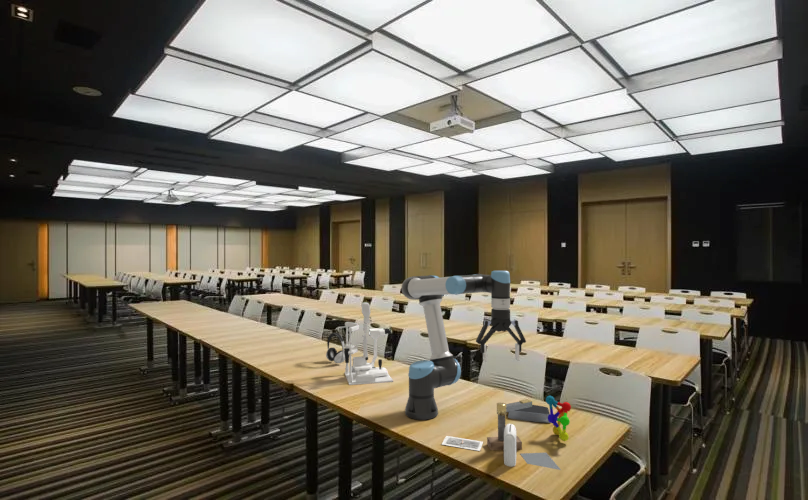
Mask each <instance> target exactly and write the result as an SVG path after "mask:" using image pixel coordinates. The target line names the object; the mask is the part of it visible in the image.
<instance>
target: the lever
mask: <svg viewBox="0 0 808 500" xmlns="http://www.w3.org/2000/svg"><path fill="white" fill-rule="evenodd" d="M532 405H533V401H532V400H530V399H527V398H526V399H519V401H516V402H511V403H506V402H505V403H504V402H497V403H496V414H497V416H498V415H505V416H506V415H507V413H508V412H509V411H514V410H519V409H523V408H528V407H532Z"/></svg>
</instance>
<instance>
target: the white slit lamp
mask: <svg viewBox="0 0 808 500" xmlns="http://www.w3.org/2000/svg"><path fill="white" fill-rule="evenodd" d="M371 312H372V311H371V306H370V304H369V302H362V303H361V313H362V316H363V324H362V325H363V328H362V329H363V331H364V334H363V335H362V337H363V340H362V350H363V354H362V355H363V356H352V355H354V354H357V353H358V351H359V349H358V345H357V344H356V345H354V344H352V332H356V331H358V330H359V329H360V325H359V323H357V322H352V321H346V322H344V327H345V329H346V330H345V344H344V355H345V361H344V363H345V368H344V375H345V378H346V380H347V383H348V385H349V386H357V385H369V384H381V383H393V382H394V380H393V378H392V377H391V376H390V374H389V372H388V369H387V368H386V367H383V366H382V365H383V359H381V358H380V359H378V366H376V367H375V362H376V360H377V358H378V340H379V338H380V337H382V336H383V337H385V335H387V334H388V335H389V334H392V331H391V329H390V328H385V327H384V328H383V327H382V328H378V327H376V328H369V326H368V324H370V323H371V322H372V317H371ZM367 333H368V336H369V338H371V339H373V357H372V360H371V362H368V360H369V354H368V336H367ZM348 343H349V344H348Z"/></svg>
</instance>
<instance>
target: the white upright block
mask: <svg viewBox="0 0 808 500" xmlns="http://www.w3.org/2000/svg"><path fill="white" fill-rule="evenodd" d="M516 436H517V429H516V425H514V424H513V423H507V424H505V429H504V450H503V464H504V465H505V466H507V467H512V468H513V467H516V464H517V449H516Z"/></svg>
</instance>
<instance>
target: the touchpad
mask: <svg viewBox="0 0 808 500" xmlns="http://www.w3.org/2000/svg"><path fill="white" fill-rule="evenodd" d="M483 443H484V441H481V440H476V439H468V438H463V437H457V436H452V435H451V436H450V435H445V437H444V438H443V441H442V443H441V445H442V446H449V447H454V448H461V449H465V450H471V451H479V452H481V449H482V447H483Z"/></svg>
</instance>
